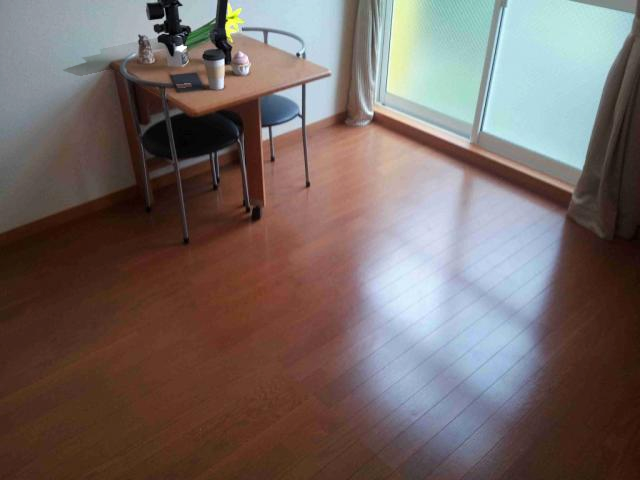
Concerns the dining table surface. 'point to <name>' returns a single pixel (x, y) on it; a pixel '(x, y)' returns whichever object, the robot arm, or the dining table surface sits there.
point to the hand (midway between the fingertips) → (177, 53)
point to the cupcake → (240, 64)
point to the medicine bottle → (178, 54)
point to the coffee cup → (214, 68)
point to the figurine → (145, 50)
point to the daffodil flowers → (204, 31)
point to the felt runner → (188, 81)
